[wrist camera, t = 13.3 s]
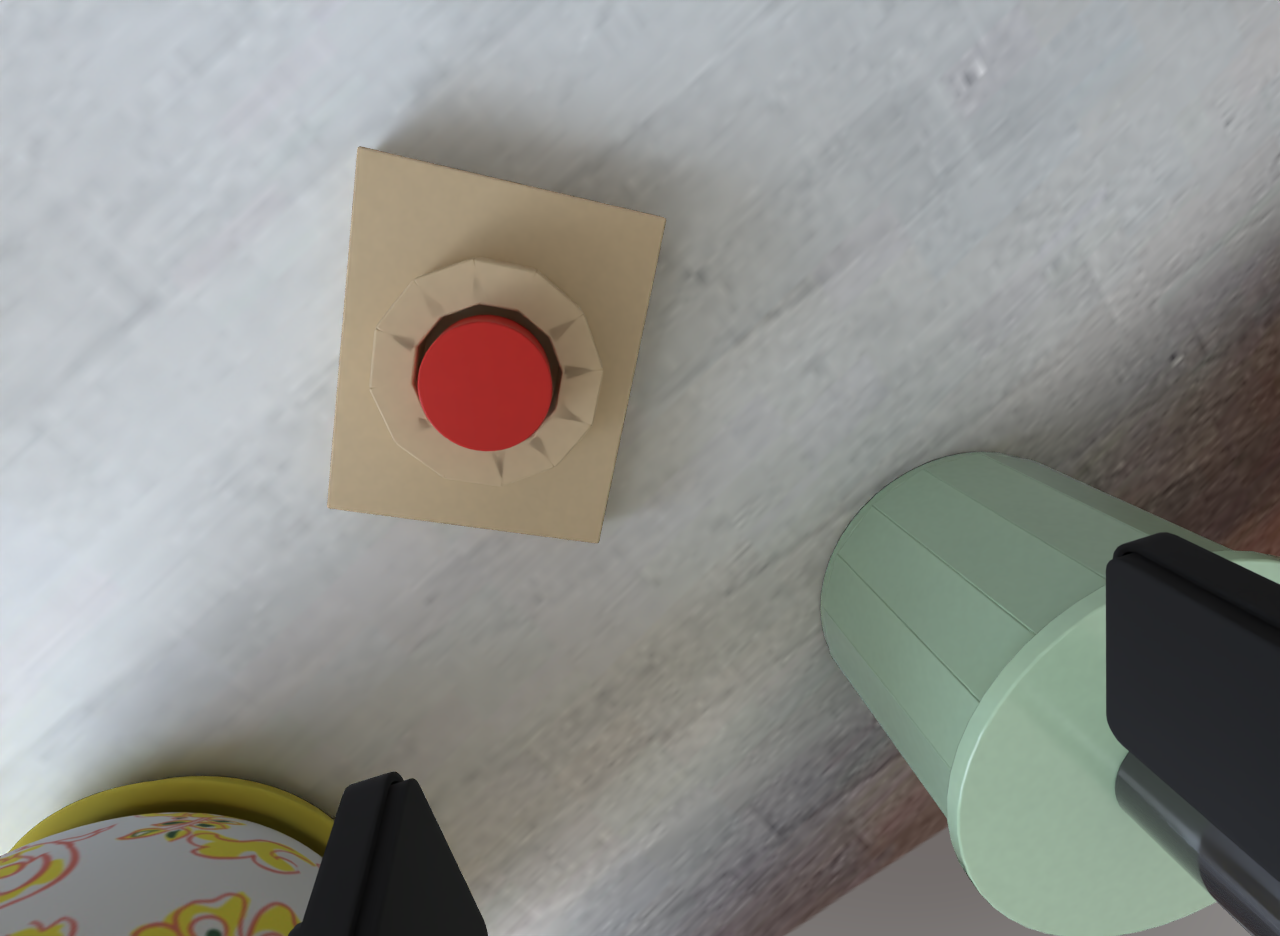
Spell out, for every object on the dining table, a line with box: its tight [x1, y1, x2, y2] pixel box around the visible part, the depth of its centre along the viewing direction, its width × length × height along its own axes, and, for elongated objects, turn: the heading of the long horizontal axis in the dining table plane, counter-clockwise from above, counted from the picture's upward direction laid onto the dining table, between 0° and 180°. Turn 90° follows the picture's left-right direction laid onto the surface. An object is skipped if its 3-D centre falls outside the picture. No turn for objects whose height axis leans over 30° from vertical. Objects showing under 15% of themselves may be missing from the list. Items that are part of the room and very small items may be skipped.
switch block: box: [327, 146, 666, 543], centre depth 22 cm, size 11×9×4 cm
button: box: [417, 315, 553, 451], centre depth 20 cm, size 4×4×2 cm
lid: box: [947, 550, 1280, 936], centre depth 17 cm, size 13×13×8 cm
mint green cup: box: [820, 452, 1233, 818], centre depth 25 cm, size 12×12×10 cm
